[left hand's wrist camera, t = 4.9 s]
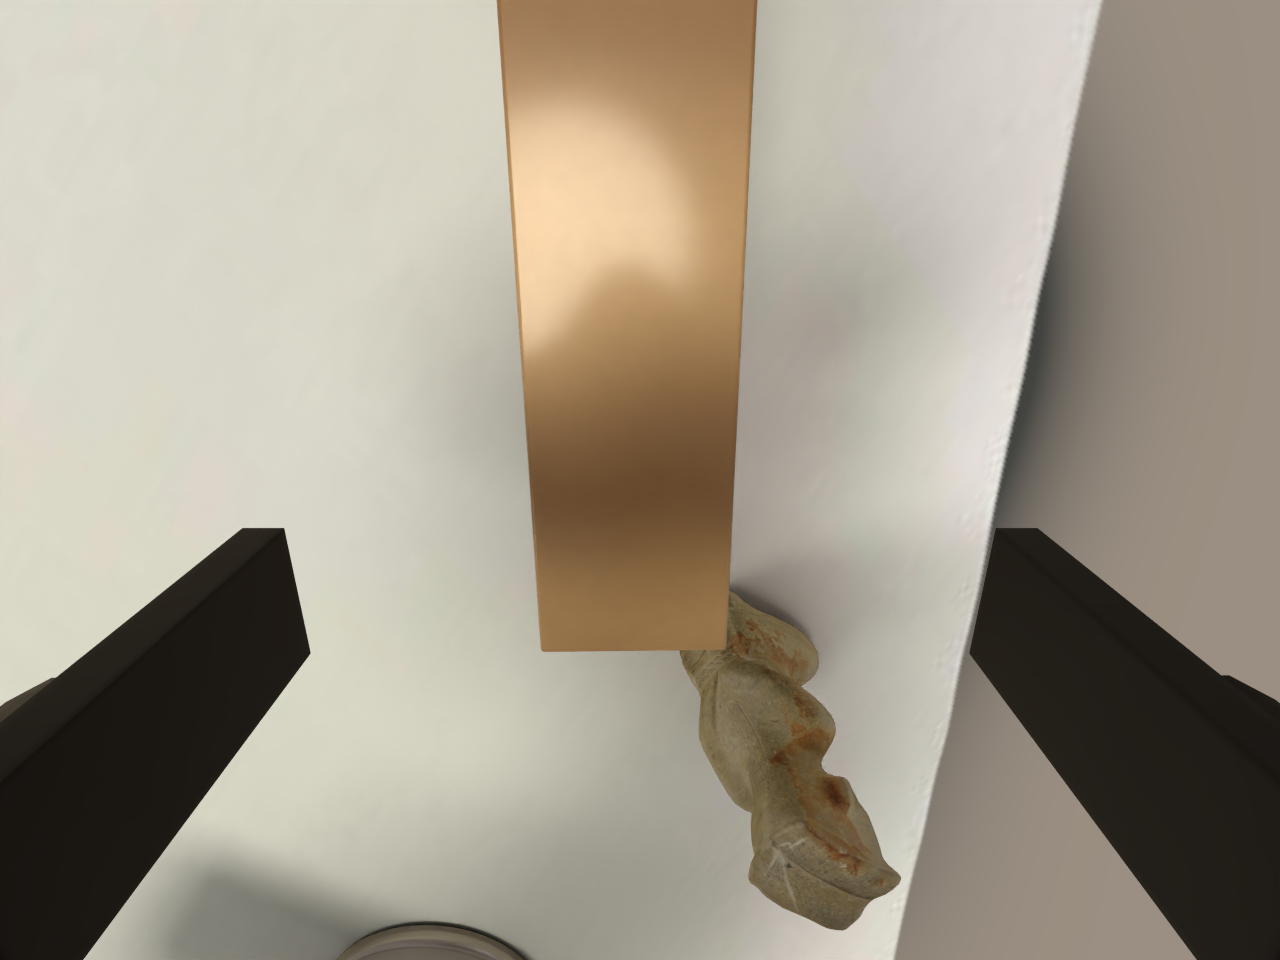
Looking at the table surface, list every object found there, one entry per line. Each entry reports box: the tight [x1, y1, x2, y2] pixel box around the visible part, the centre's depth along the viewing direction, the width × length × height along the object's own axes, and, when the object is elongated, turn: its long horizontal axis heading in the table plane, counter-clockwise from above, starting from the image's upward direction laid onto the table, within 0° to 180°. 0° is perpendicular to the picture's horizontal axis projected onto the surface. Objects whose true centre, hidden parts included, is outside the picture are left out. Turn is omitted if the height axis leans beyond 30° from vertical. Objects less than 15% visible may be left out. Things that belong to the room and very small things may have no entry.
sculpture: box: [680, 591, 901, 930], centre depth 30 cm, size 6×7×15 cm
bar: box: [497, 0, 757, 652], centre depth 17 cm, size 26×5×10 cm, turn 0°
